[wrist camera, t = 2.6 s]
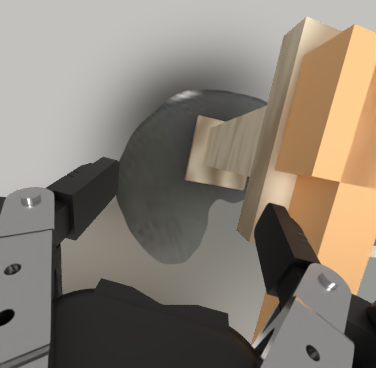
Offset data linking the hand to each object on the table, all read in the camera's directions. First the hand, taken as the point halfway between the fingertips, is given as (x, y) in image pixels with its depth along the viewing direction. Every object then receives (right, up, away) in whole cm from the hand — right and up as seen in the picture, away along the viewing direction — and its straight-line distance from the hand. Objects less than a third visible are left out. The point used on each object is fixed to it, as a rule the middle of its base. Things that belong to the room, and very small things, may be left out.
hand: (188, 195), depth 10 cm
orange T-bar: (+8, -3, +3) cm, 9 cm away
